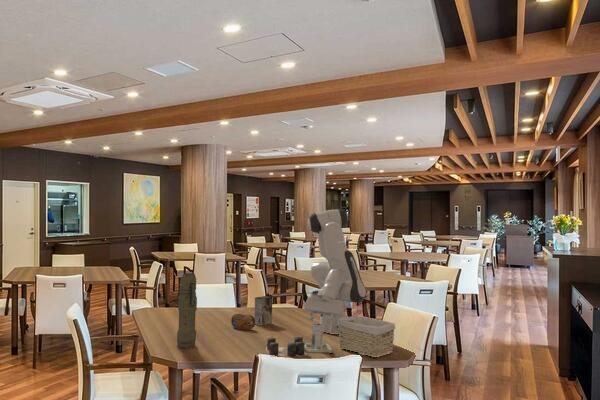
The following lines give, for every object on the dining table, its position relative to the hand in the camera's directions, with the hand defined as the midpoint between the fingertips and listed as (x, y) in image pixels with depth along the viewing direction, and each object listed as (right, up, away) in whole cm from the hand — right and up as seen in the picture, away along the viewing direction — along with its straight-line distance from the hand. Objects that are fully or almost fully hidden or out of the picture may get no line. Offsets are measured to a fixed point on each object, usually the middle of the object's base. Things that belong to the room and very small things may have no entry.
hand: (319, 321), depth 224 cm
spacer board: (-16, -13, -7) cm, 22 cm away
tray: (-1, -14, -1) cm, 14 cm away
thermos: (-65, -13, +3) cm, 66 cm away
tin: (-42, -15, +42) cm, 61 cm away
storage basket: (+22, -15, 0) cm, 27 cm away
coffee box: (-31, -16, +56) cm, 66 cm away
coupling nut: (-1, -13, -2) cm, 13 cm away
